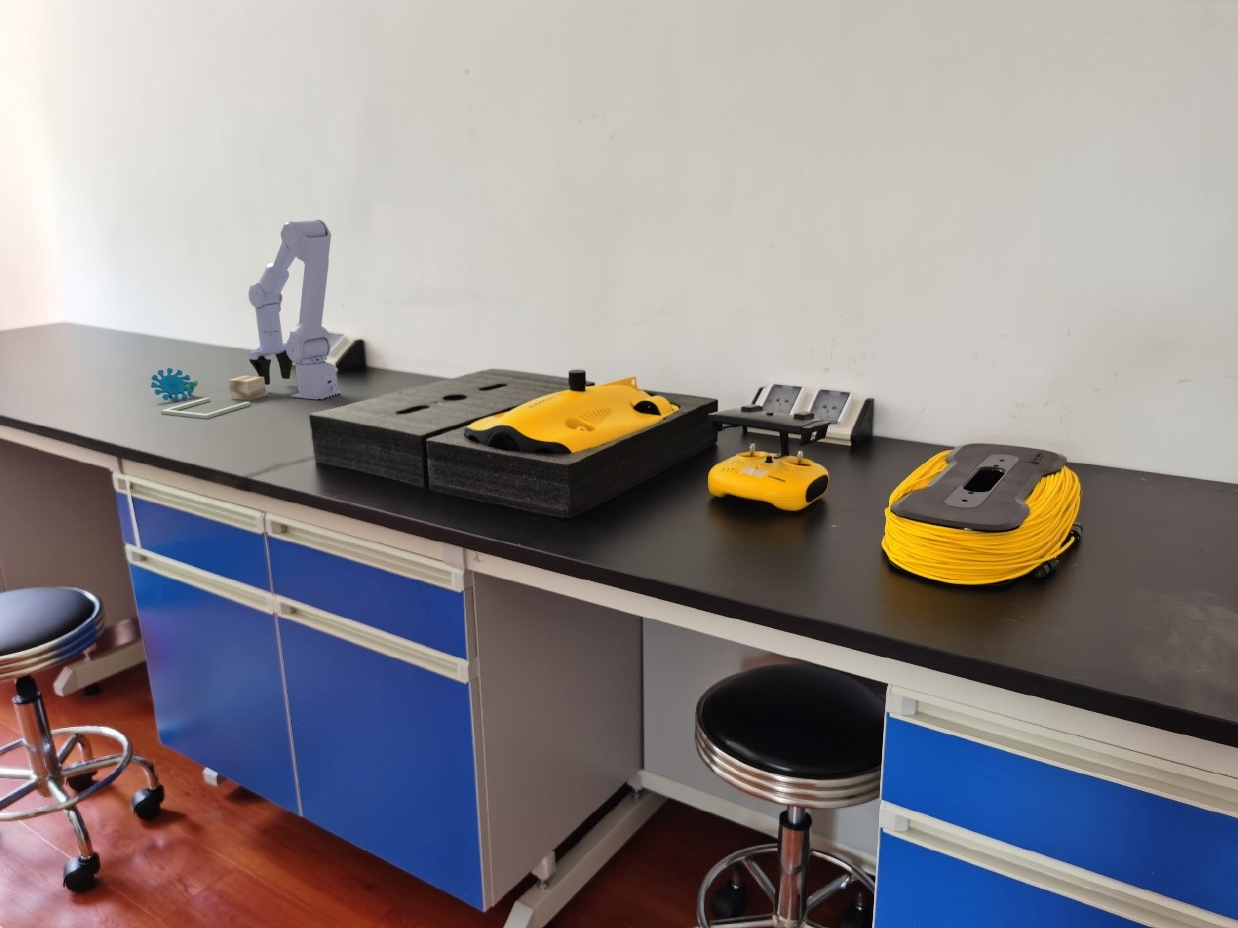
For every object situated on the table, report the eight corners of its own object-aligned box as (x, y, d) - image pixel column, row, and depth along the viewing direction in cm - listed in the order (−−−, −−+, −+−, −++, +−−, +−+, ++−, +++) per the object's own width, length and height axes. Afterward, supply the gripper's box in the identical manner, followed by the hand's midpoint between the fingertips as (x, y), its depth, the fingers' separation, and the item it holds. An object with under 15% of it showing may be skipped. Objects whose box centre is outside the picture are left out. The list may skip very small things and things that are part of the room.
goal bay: (250, 405, 225) (250, 402, 225) (206, 418, 213) (206, 415, 212) (206, 400, 230) (206, 397, 230) (161, 413, 218) (160, 410, 217)
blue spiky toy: (154, 398, 226) (148, 366, 229) (151, 412, 230) (145, 379, 234) (202, 398, 232) (195, 366, 236) (198, 411, 236) (192, 380, 240)
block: (266, 395, 235) (263, 376, 234) (249, 401, 230) (246, 381, 229) (248, 394, 238) (245, 375, 236) (231, 399, 232) (228, 379, 231)
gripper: (277, 325, 246) (283, 375, 250) (237, 334, 233) (244, 385, 237) (297, 327, 244) (303, 376, 248) (258, 335, 231) (265, 387, 235)
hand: (276, 381), depth 242 cm, fingers open, 7 cm apart
